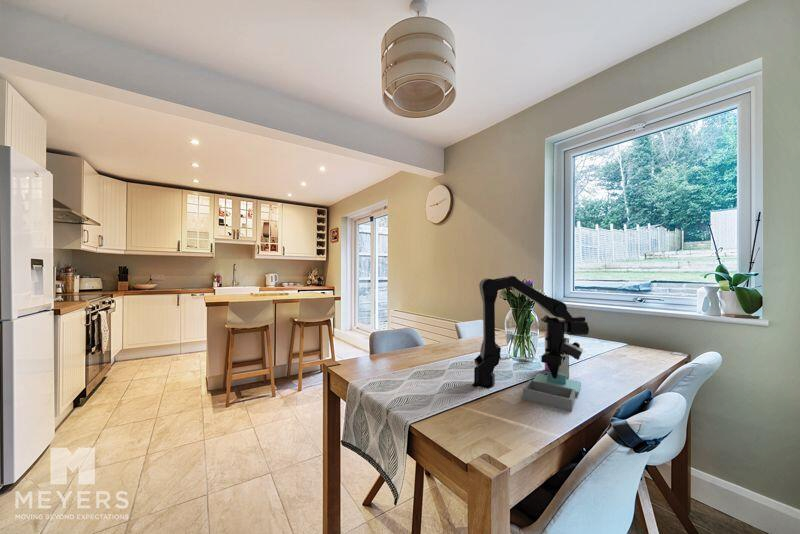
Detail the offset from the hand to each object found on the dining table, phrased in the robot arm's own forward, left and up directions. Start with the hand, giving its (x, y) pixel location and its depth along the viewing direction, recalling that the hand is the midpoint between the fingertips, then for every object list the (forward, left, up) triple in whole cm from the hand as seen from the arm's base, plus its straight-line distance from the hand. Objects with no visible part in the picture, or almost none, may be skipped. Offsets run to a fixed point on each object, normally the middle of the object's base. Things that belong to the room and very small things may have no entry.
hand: (555, 377), depth 108 cm
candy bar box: (-2, +17, -4) cm, 18 cm away
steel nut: (+3, -11, -3) cm, 12 cm away
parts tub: (0, -13, -4) cm, 14 cm away
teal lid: (+1, 0, -2) cm, 2 cm away
